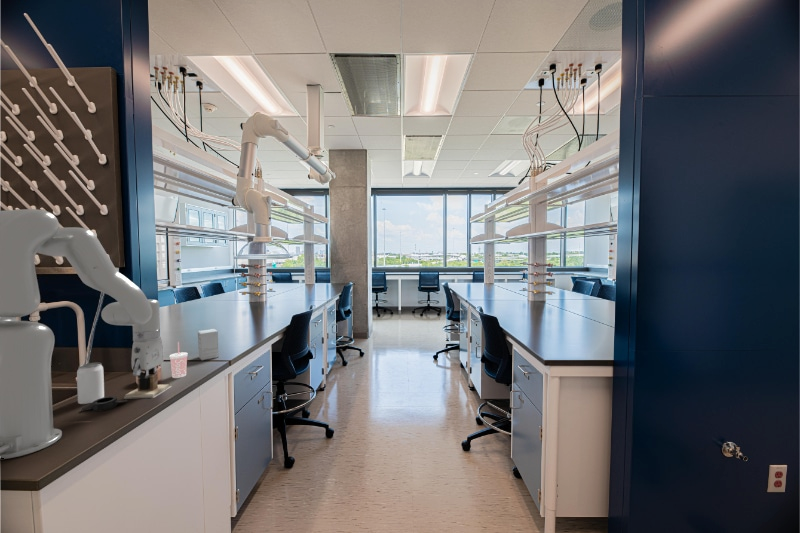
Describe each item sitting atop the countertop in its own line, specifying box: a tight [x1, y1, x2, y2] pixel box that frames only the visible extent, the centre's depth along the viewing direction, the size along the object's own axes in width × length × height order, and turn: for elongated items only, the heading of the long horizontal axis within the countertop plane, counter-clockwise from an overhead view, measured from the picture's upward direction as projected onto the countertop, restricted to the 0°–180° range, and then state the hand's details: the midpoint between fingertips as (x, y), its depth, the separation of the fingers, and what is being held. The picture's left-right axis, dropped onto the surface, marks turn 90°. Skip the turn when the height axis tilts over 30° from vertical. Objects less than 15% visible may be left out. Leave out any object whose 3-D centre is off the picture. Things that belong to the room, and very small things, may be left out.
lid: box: [124, 374, 170, 398], centre depth 118 cm, size 9×9×6 cm
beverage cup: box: [169, 341, 189, 379], centre depth 134 cm, size 6×6×14 cm
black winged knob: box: [81, 395, 128, 412], centre depth 107 cm, size 8×10×3 cm
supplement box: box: [197, 328, 219, 361], centre depth 160 cm, size 7×7×13 cm
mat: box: [123, 385, 173, 400], centre depth 118 cm, size 10×10×1 cm
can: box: [76, 362, 105, 405], centre depth 112 cm, size 6×6×12 cm
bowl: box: [135, 365, 162, 385], centre depth 129 cm, size 8×8×5 cm
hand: (147, 387), depth 118 cm, fingers closed on lid
